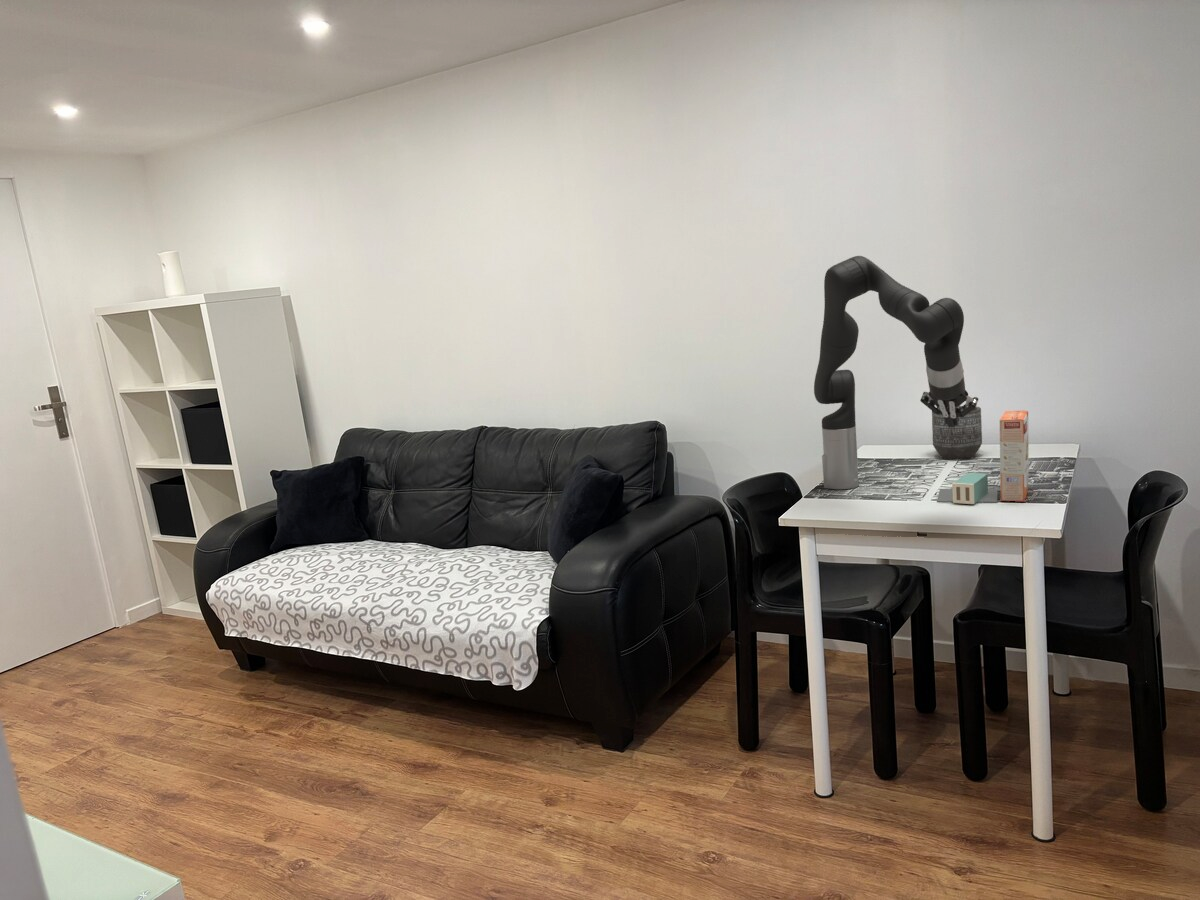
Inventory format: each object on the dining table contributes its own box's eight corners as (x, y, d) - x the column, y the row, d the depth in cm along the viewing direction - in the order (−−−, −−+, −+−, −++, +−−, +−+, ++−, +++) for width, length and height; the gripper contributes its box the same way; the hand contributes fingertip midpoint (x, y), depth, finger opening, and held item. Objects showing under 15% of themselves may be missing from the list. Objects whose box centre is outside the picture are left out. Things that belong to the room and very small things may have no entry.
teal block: (952, 483, 217) (967, 472, 226) (952, 502, 218) (967, 491, 227) (973, 484, 214) (987, 473, 223) (973, 504, 215) (987, 492, 224)
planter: (924, 459, 272) (922, 412, 269) (946, 450, 281) (944, 405, 278) (969, 462, 261) (968, 413, 259) (990, 453, 270) (989, 406, 268)
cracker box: (1026, 502, 213) (1025, 418, 209) (999, 502, 216) (997, 419, 212) (1030, 489, 225) (1029, 409, 221) (1004, 488, 228) (1003, 410, 224)
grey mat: (936, 502, 221) (936, 501, 221) (940, 490, 233) (940, 488, 233) (997, 503, 215) (997, 501, 215) (997, 490, 227) (997, 488, 227)
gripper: (910, 383, 197) (919, 432, 208) (971, 389, 189) (977, 440, 201) (920, 359, 200) (928, 409, 212) (980, 365, 192) (986, 416, 204)
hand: (952, 424), depth 206 cm, fingers closed
